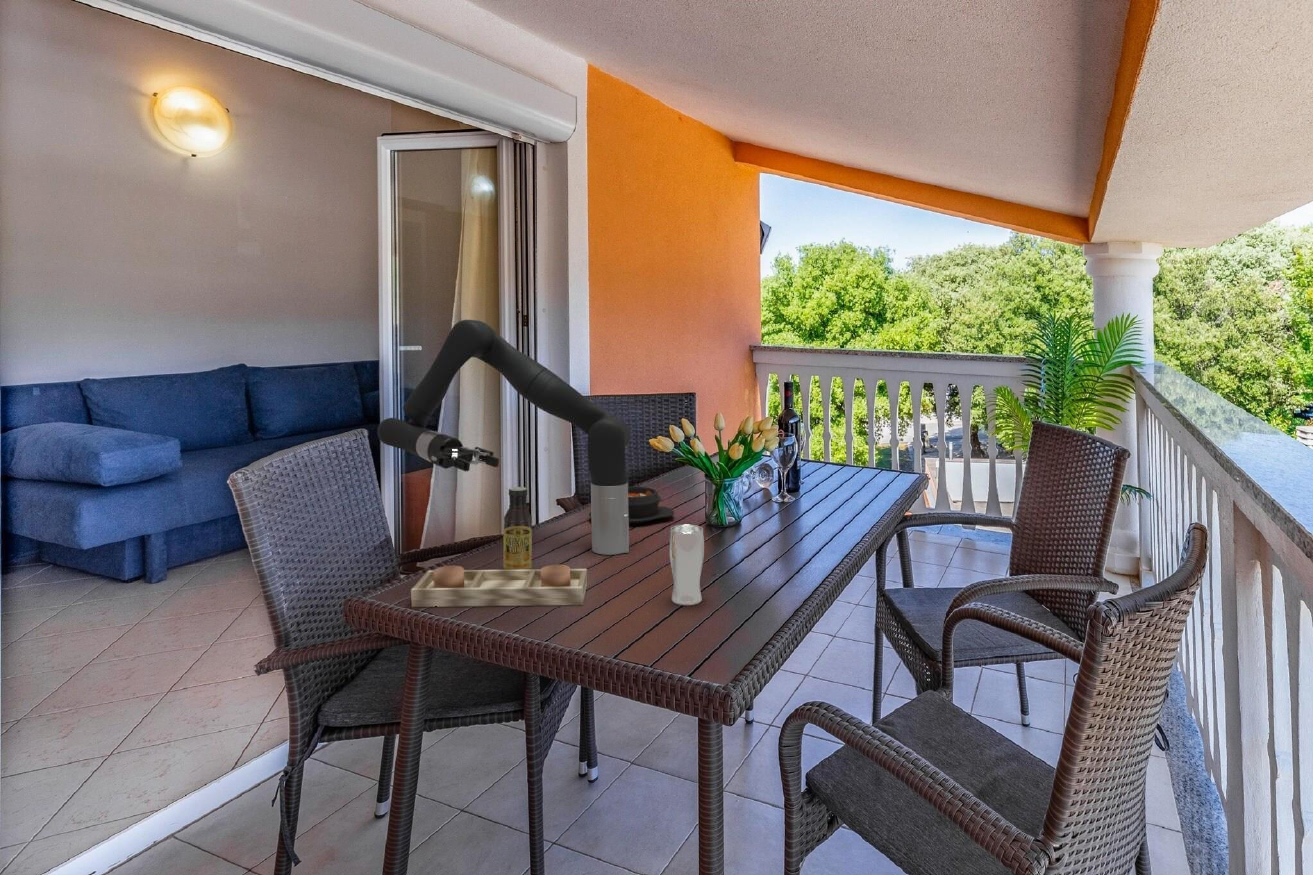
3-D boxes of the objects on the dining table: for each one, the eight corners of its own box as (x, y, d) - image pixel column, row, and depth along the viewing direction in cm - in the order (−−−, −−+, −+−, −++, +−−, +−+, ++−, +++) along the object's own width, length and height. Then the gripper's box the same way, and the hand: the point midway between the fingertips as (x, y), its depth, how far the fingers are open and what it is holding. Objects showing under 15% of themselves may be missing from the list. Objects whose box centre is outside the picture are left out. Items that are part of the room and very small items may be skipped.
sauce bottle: (503, 580, 160) (500, 492, 157) (503, 571, 166) (500, 486, 163) (533, 578, 161) (530, 490, 159) (532, 569, 167) (530, 484, 165)
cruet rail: (587, 584, 157) (586, 559, 156) (582, 604, 145) (582, 578, 144) (429, 586, 156) (428, 561, 156) (411, 606, 145) (410, 580, 144)
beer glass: (667, 594, 151) (667, 524, 149) (701, 593, 151) (701, 523, 149) (671, 607, 144) (671, 533, 142) (706, 605, 145) (706, 532, 142)
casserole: (666, 509, 223) (666, 483, 222) (681, 525, 205) (681, 496, 204) (585, 514, 218) (585, 486, 217) (593, 530, 200) (592, 500, 199)
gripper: (415, 435, 170) (459, 452, 161) (464, 431, 181) (508, 446, 172) (413, 466, 171) (457, 484, 162) (461, 460, 183) (505, 476, 174)
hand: (483, 465), depth 167 cm, fingers open, 8 cm apart
